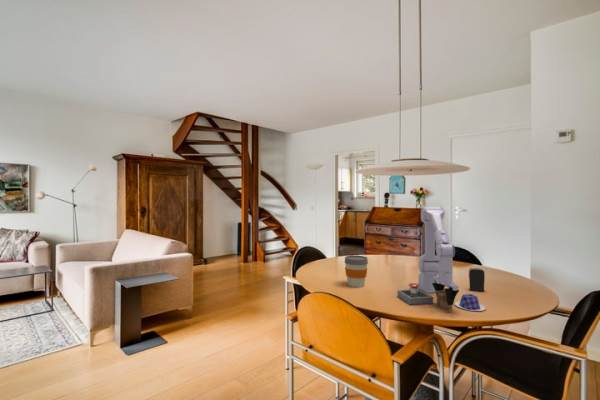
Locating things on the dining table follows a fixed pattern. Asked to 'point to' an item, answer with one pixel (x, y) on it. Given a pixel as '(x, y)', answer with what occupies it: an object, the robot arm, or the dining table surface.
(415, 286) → the small red-capped bottle
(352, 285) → the reusable coffee cup
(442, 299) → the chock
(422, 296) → the tray
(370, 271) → the dining table surface
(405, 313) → the dining table surface
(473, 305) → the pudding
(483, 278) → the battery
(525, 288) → the dining table surface
